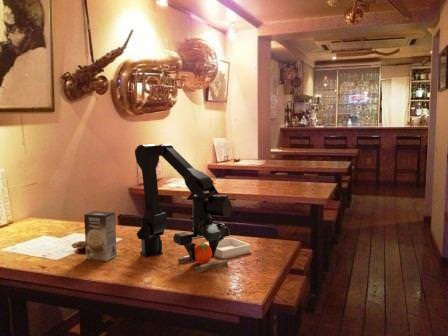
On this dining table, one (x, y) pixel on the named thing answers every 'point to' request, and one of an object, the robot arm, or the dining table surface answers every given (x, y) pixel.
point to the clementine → (202, 253)
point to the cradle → (204, 266)
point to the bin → (231, 248)
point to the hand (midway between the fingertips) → (202, 260)
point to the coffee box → (100, 235)
